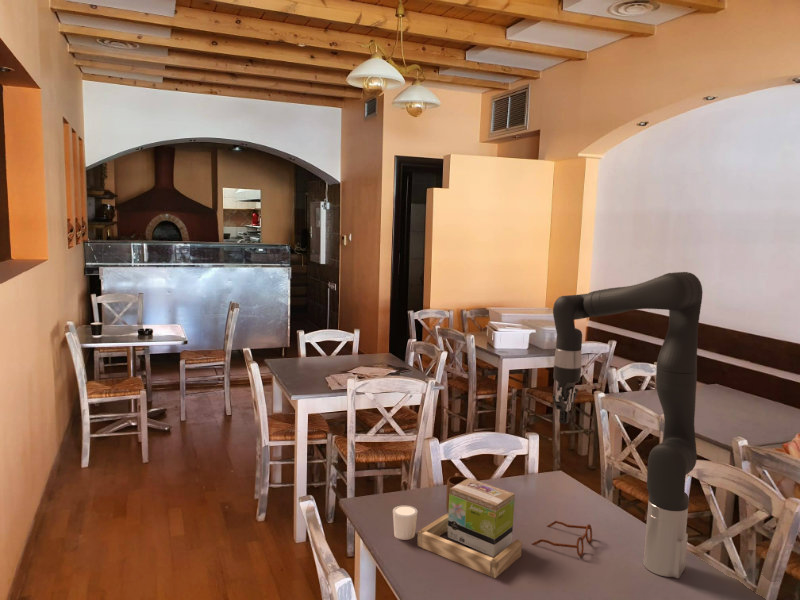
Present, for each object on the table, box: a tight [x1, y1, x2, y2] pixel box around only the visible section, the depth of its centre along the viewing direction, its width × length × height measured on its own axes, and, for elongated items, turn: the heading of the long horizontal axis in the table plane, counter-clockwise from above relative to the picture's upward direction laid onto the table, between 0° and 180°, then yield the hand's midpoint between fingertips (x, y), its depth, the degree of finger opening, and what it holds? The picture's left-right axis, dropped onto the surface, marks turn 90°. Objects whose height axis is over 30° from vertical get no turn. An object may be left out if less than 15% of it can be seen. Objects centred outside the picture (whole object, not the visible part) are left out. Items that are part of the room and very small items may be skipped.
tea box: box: [447, 477, 516, 558], centre depth 170 cm, size 15×10×15 cm, turn 51°
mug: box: [445, 472, 469, 513], centre depth 191 cm, size 12×8×9 cm, turn 1°
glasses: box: [531, 520, 593, 557], centre depth 172 cm, size 13×13×5 cm
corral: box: [416, 513, 523, 579], centre depth 166 cm, size 24×14×4 cm, turn 52°
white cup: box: [392, 505, 419, 541], centre depth 173 cm, size 7×7×7 cm
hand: (563, 422), depth 183 cm, fingers closed
